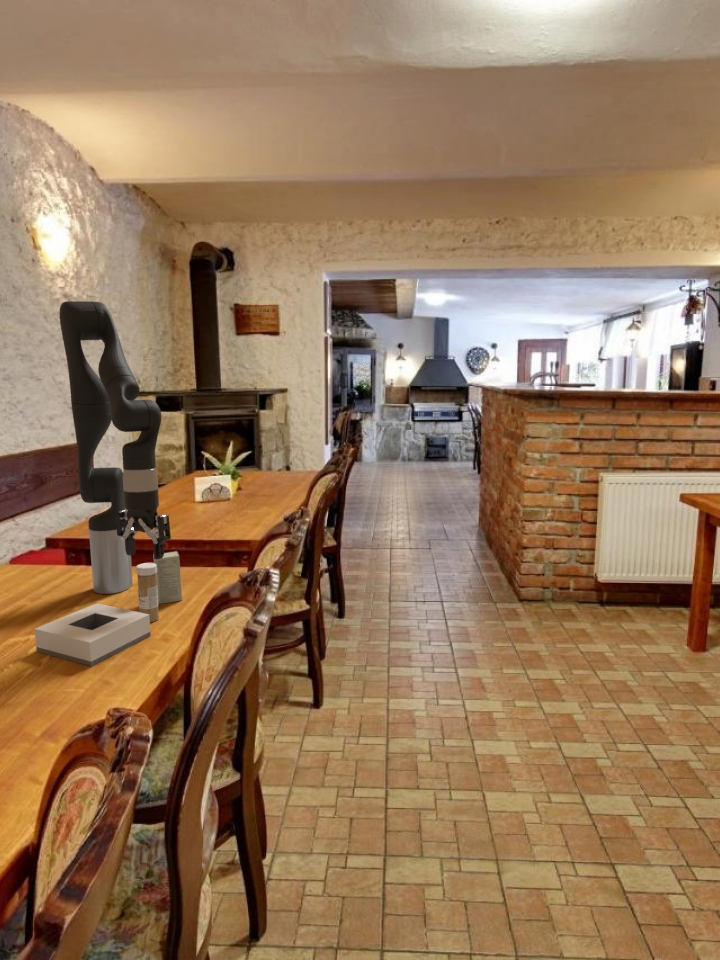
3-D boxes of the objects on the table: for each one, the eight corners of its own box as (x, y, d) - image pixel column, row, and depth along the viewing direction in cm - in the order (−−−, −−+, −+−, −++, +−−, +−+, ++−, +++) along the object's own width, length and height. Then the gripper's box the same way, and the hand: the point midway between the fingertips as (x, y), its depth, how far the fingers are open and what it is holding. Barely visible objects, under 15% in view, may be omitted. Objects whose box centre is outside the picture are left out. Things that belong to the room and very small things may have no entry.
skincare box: (180, 595, 159) (178, 550, 157) (182, 601, 155) (180, 555, 153) (155, 598, 157) (152, 553, 155) (156, 604, 153) (154, 558, 151)
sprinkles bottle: (135, 619, 143) (132, 565, 141) (153, 614, 147) (149, 560, 144) (146, 624, 140) (142, 569, 138) (163, 619, 144) (160, 564, 141)
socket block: (98, 623, 141) (96, 603, 140) (150, 635, 134) (149, 614, 133) (36, 651, 127) (34, 628, 126) (91, 666, 120) (89, 642, 119)
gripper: (176, 487, 139) (179, 556, 141) (130, 483, 145) (134, 549, 147) (152, 492, 132) (156, 564, 134) (105, 488, 138) (109, 557, 140)
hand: (144, 556), depth 141 cm, fingers open, 8 cm apart
